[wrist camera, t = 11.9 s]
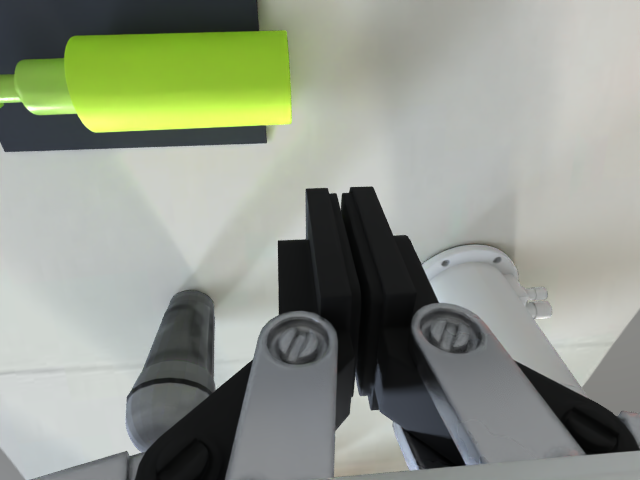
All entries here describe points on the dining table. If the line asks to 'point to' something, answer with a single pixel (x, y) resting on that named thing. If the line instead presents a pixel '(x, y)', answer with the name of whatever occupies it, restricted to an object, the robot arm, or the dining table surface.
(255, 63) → the soap dispenser
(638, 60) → the dining table surface
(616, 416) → the robot arm
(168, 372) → the beverage cup
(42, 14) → the placemat
